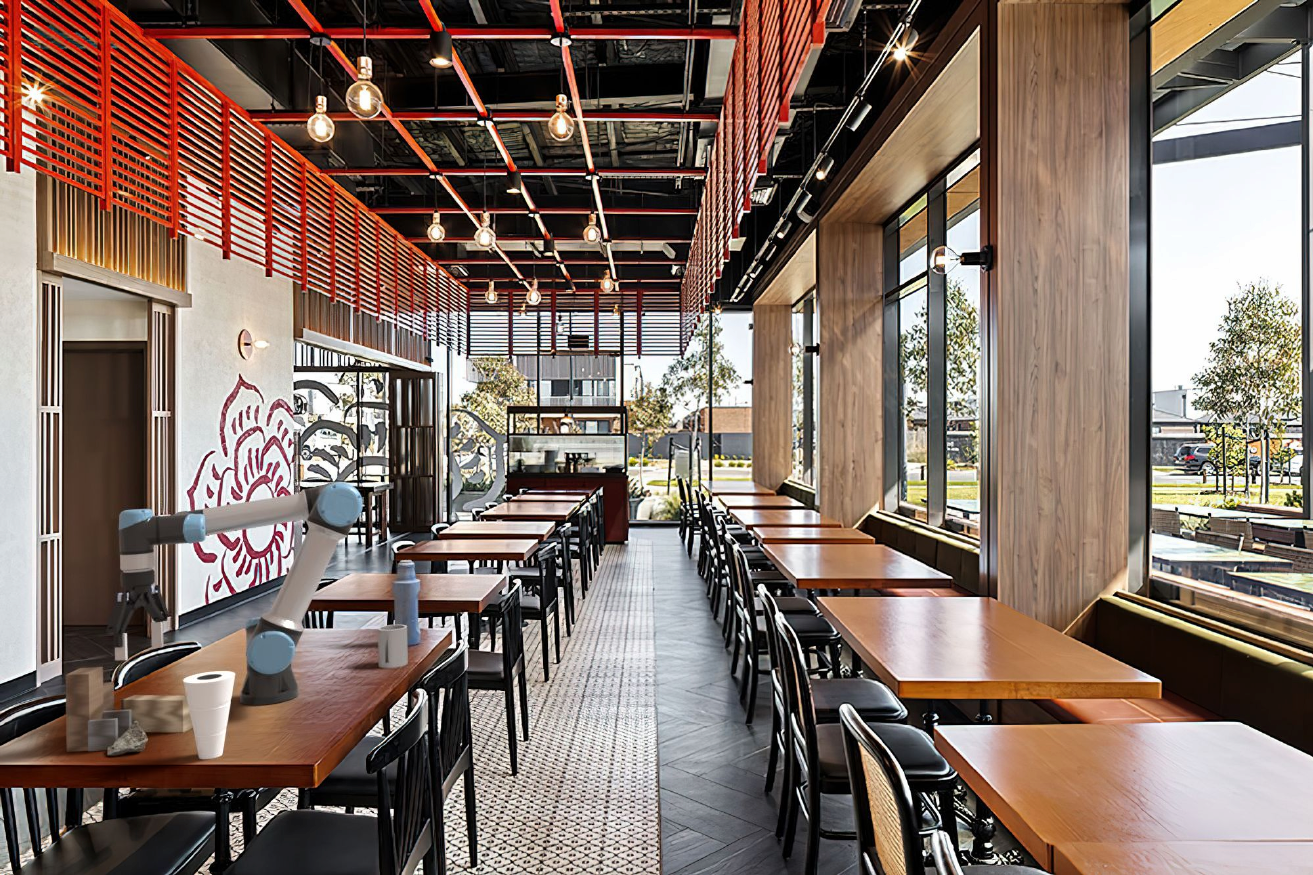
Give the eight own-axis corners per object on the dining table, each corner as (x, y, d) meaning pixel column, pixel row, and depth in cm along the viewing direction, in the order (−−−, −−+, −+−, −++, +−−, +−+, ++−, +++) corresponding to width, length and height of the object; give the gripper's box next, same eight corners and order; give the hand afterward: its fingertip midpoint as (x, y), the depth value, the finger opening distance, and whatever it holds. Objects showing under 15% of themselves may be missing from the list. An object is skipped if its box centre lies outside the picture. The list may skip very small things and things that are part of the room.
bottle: (395, 641, 318) (393, 559, 318) (423, 640, 319) (421, 558, 319) (390, 647, 308) (388, 562, 309) (418, 646, 309) (417, 561, 310)
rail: (193, 727, 222) (193, 695, 222) (183, 732, 218) (182, 700, 218) (133, 726, 223) (132, 695, 224) (121, 731, 220) (121, 699, 220)
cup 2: (195, 767, 193) (193, 685, 193) (177, 756, 200) (175, 678, 200) (244, 754, 201) (243, 675, 201) (225, 744, 208) (223, 668, 208)
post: (146, 727, 222) (145, 656, 223) (115, 749, 206) (114, 672, 206) (99, 730, 221) (98, 659, 221) (65, 752, 204) (64, 675, 204)
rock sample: (91, 737, 203) (124, 708, 206) (114, 749, 209) (146, 721, 212) (105, 765, 197) (139, 735, 200) (129, 777, 203) (161, 748, 206)
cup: (407, 659, 289) (406, 623, 290) (408, 666, 281) (407, 628, 281) (378, 662, 286) (377, 626, 287) (378, 669, 278) (378, 631, 278)
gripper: (155, 563, 235) (158, 642, 235) (87, 577, 210) (90, 665, 210) (182, 562, 235) (184, 641, 234) (116, 577, 210) (119, 665, 210)
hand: (140, 653), depth 222 cm, fingers open, 13 cm apart
